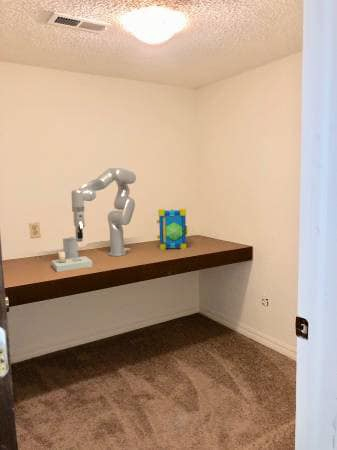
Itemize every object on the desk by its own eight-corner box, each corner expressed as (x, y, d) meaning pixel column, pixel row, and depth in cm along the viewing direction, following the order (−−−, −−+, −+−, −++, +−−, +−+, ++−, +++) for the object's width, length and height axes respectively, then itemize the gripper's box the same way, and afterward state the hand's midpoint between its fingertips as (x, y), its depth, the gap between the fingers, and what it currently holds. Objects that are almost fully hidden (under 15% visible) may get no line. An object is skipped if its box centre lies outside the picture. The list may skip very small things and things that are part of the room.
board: (85, 261, 246) (85, 246, 245) (92, 266, 232) (91, 251, 231) (52, 265, 236) (51, 250, 235) (57, 271, 222) (55, 255, 221)
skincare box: (69, 260, 248) (68, 239, 246) (63, 259, 252) (62, 238, 249) (78, 258, 255) (77, 237, 253) (72, 257, 259) (71, 236, 256)
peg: (81, 240, 237) (81, 225, 236) (83, 241, 234) (82, 225, 232) (75, 240, 235) (74, 225, 234) (77, 241, 232) (76, 226, 230)
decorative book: (187, 250, 272) (187, 210, 268) (157, 250, 273) (155, 210, 268) (187, 245, 287) (186, 207, 282) (157, 246, 287) (156, 208, 282)
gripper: (87, 210, 226) (88, 239, 229) (80, 208, 241) (81, 235, 243) (75, 210, 223) (76, 240, 225) (69, 208, 237) (70, 236, 240)
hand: (79, 237), depth 234 cm, fingers closed on peg, 4 cm apart
